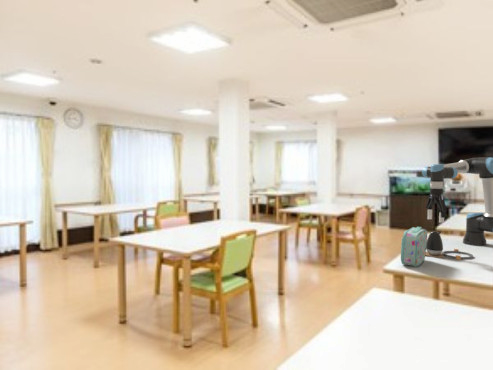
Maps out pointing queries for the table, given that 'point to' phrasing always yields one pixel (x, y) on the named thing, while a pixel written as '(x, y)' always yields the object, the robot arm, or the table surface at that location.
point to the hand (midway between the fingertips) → (435, 220)
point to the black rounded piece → (434, 243)
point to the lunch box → (414, 246)
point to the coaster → (435, 255)
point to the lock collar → (457, 255)
